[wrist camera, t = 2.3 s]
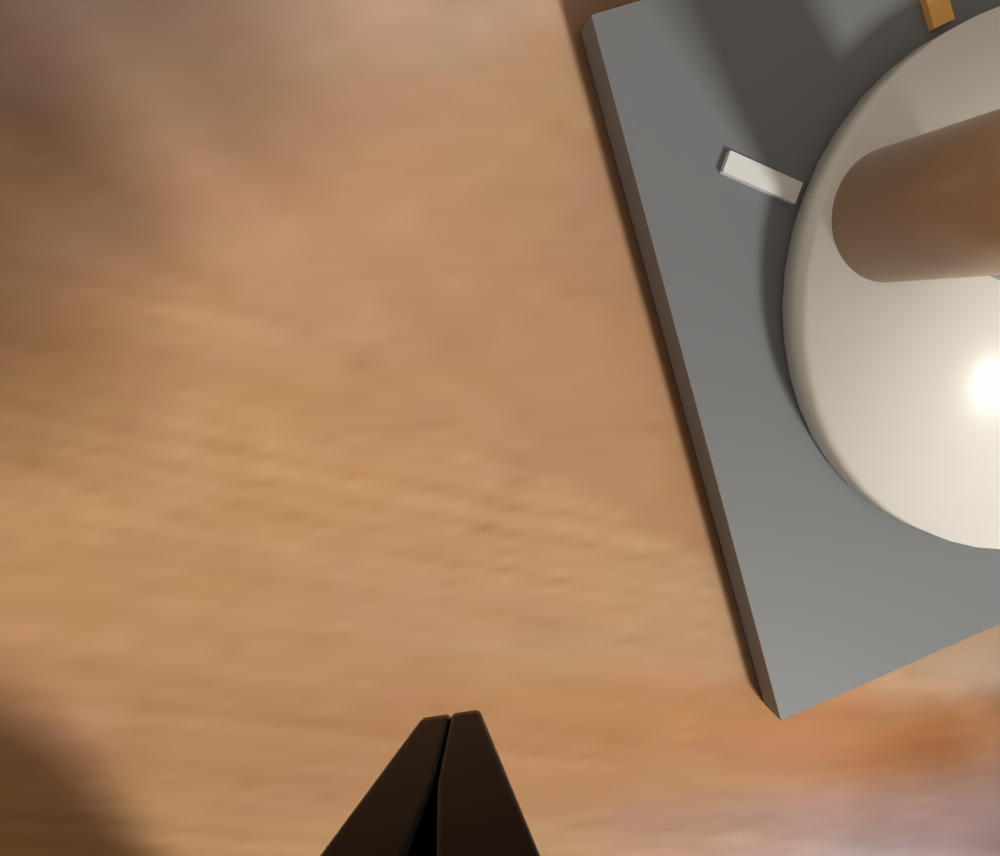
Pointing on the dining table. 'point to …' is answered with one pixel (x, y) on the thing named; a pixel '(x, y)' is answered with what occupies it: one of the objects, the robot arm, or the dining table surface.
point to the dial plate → (772, 319)
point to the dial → (908, 290)
